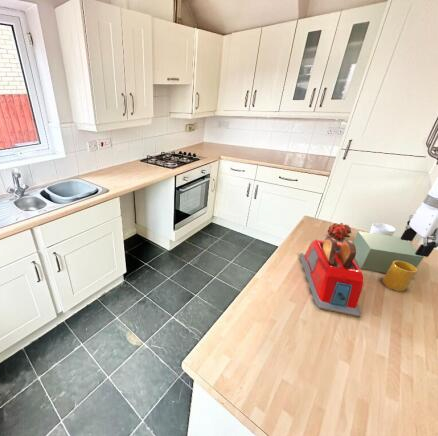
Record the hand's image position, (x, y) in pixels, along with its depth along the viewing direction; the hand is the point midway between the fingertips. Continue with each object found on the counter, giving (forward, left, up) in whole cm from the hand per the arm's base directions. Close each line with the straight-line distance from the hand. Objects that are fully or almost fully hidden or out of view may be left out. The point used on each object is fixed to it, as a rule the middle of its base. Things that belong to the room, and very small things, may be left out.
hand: (413, 247), depth 84 cm
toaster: (+23, +7, -17) cm, 29 cm away
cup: (-1, 0, -17) cm, 17 cm away
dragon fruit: (+10, -30, -17) cm, 36 cm away
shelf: (-1, -14, -17) cm, 22 cm away
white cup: (-5, -29, -17) cm, 34 cm away
